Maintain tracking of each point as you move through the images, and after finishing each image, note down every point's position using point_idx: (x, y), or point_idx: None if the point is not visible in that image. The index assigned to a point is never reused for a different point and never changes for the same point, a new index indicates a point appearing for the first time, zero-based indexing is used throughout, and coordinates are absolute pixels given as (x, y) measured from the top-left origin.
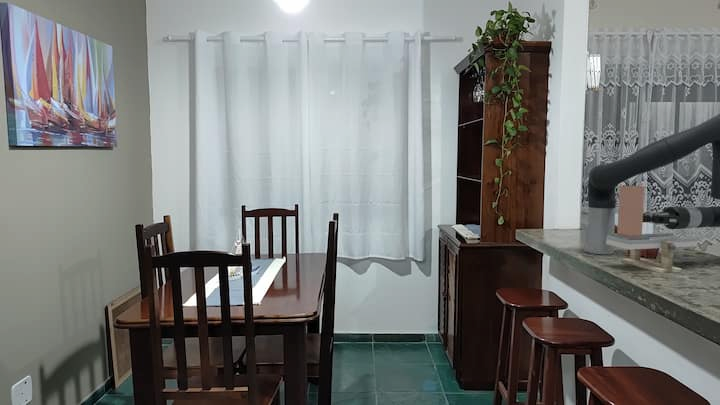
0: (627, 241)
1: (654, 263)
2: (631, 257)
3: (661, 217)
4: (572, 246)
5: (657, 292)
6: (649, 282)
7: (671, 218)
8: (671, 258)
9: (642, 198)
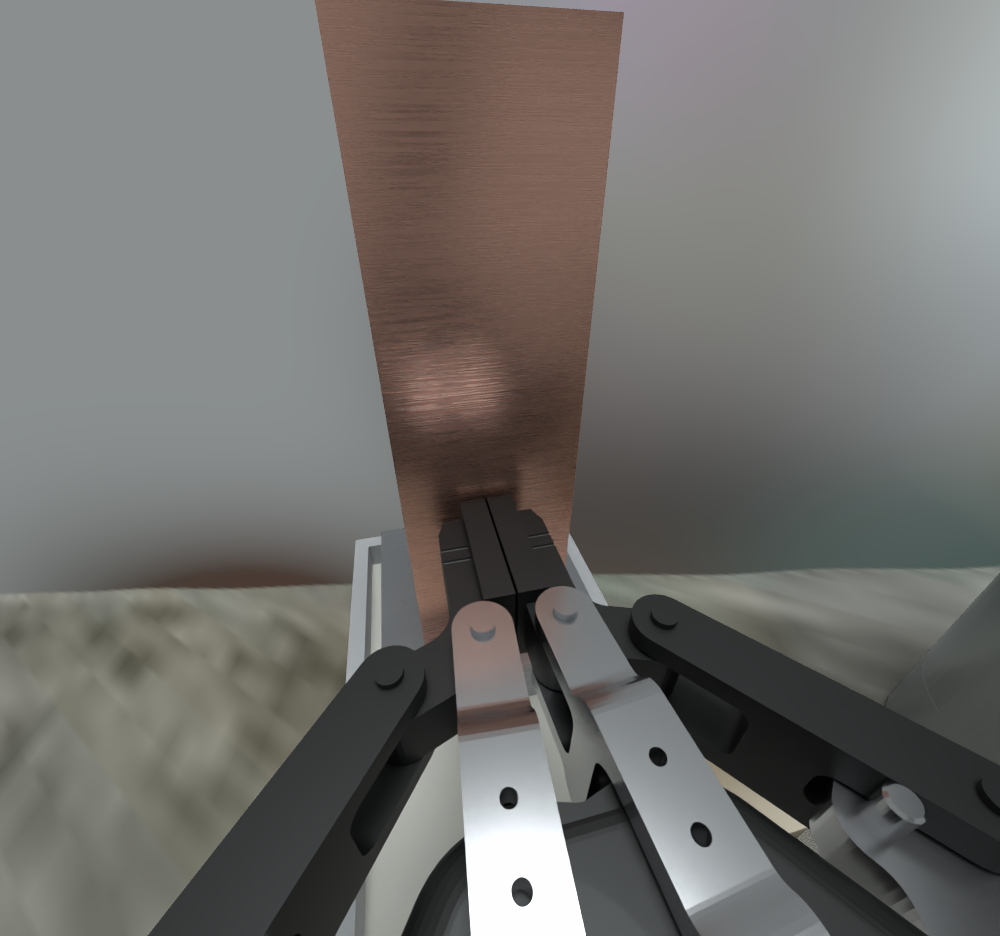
0: (372, 542)
1: None
2: None
3: (320, 741)
4: None
5: (65, 603)
6: (181, 653)
7: None
8: None
9: (362, 267)
